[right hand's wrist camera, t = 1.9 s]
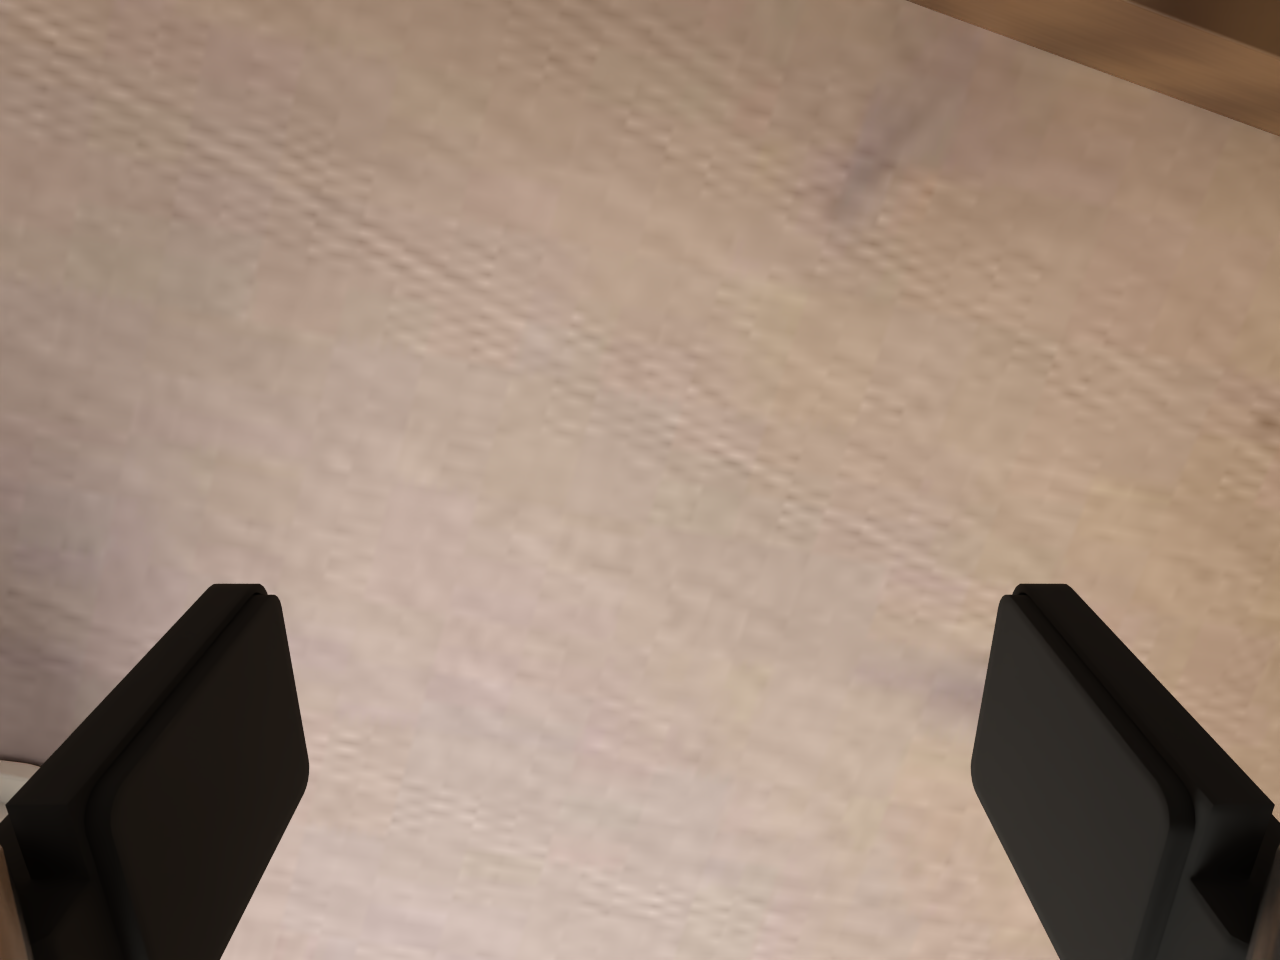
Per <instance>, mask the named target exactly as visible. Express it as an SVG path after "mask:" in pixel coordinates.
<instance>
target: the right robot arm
mask: <svg viewBox="0 0 1280 960" xmlns="http://www.w3.org/2000/svg"><path fill="white" fill-rule="evenodd" d="M308 776H309V760H308V754H307V748H306V743H305V737H304V731H303V726H302V720H301V714H300V709H299V703H298V697H297V692H296V686H295V680H294V675H293V669H292V663H291V658H290V652H289V646H288V641H287V635H286V629H285V624H284V618H283V612H282V607H281V603H280V600H279V598H278V597H277V596H276V595H268V594H267V592H266V590H265V588H264V587H263V586H262V585H261V584H213V585H212V586H210V587H209V588H208V589H207V590H206V591H205V592H204V593H203V594H202V595H201V596H200V598H199V599H198V600H197V601H196V602H195V603H194V604H193V605H192V606H191V607H190V608H189V609H188V610H187V611H186V612H185V614H184V615H183V616H182V617H181V618H180V619H179V620H178V621H177V622H176V623H175V624H174V625H173V626H172V627H171V628H170V630H169V631H168V632H167V633H166V634H165V635H164V636H163V637H162V638H161V639H160V640H159V641H158V642H157V643H156V644H155V646H154V647H153V648H152V649H151V650H150V651H149V652H148V653H147V654H146V655H145V656H144V657H143V658H142V659H141V660H140V662H139V663H138V664H137V665H136V666H135V667H134V668H133V669H132V670H131V671H130V672H129V673H128V674H127V675H126V676H125V678H124V679H123V680H122V681H121V682H120V683H119V684H118V685H117V686H116V687H115V688H114V689H113V690H112V691H111V692H110V694H109V695H108V696H107V697H106V698H105V699H104V700H103V701H102V702H101V703H100V704H99V705H98V706H97V707H96V708H95V710H94V711H93V712H92V713H91V714H90V715H89V716H88V717H87V718H86V719H85V720H84V721H83V722H82V723H81V724H80V726H79V727H78V728H77V729H76V730H75V731H74V732H73V733H72V734H71V735H70V736H69V737H68V738H67V739H66V740H65V742H64V743H63V744H62V745H61V746H60V747H59V748H58V749H57V750H56V751H55V752H54V753H53V754H52V755H51V756H50V758H49V759H48V760H47V761H46V762H45V763H44V764H43V765H42V766H41V767H39V766H35V765H31V764H27V763H20V762H12V761H4V760H0V960H220V958H221V956H222V954H223V953H224V951H225V949H226V947H227V945H228V943H229V941H230V939H231V937H232V935H233V933H234V931H235V929H236V927H237V925H238V923H239V921H240V919H241V917H242V915H243V913H244V911H245V909H246V907H247V905H248V903H249V901H250V899H251V897H252V895H253V893H254V891H255V889H256V887H257V885H258V883H259V881H260V879H261V877H262V875H263V873H264V871H265V869H266V867H267V865H268V863H269V861H270V859H271V857H272V855H273V853H274V851H275V850H276V848H277V846H278V844H279V842H280V840H281V838H282V836H283V834H284V832H285V830H286V828H287V826H288V824H289V822H290V820H291V818H292V816H293V814H294V812H295V810H296V808H297V806H298V804H299V802H300V800H301V798H302V796H303V794H304V792H305V789H306V786H307V782H308ZM971 776H972V782H973V786H974V789H975V792H976V794H977V796H978V798H979V800H980V802H981V804H982V806H983V808H984V810H985V812H986V814H987V816H988V818H989V820H990V822H991V824H992V826H993V828H994V830H995V832H996V834H997V836H998V838H999V840H1000V842H1001V844H1002V846H1003V848H1004V850H1005V852H1006V853H1007V855H1008V857H1009V859H1010V861H1011V863H1012V865H1013V867H1014V869H1015V871H1016V873H1017V875H1018V877H1019V879H1020V881H1021V883H1022V885H1023V887H1024V889H1025V891H1026V893H1027V895H1028V897H1029V899H1030V901H1031V903H1032V905H1033V907H1034V909H1035V911H1036V913H1037V915H1038V917H1039V919H1040V921H1041V923H1042V925H1043V927H1044V929H1045V931H1046V933H1047V935H1048V937H1049V939H1050V941H1051V943H1052V945H1053V947H1054V949H1055V951H1056V953H1057V954H1058V956H1059V958H1060V960H1280V822H1279V821H1278V820H1277V819H1276V818H1275V817H1274V816H1273V815H1272V812H1273V809H1274V806H1275V804H1274V803H1273V802H1272V801H1271V800H1270V799H1269V798H1268V797H1267V796H1266V795H1265V794H1264V793H1263V792H1262V791H1261V790H1260V788H1259V787H1258V786H1257V785H1256V784H1255V783H1254V782H1253V781H1252V780H1251V779H1250V778H1249V777H1248V776H1247V775H1246V774H1245V772H1244V771H1243V770H1242V769H1241V768H1240V767H1239V766H1238V765H1237V764H1236V763H1235V762H1234V761H1233V760H1232V759H1231V758H1230V756H1229V755H1228V754H1227V753H1226V752H1225V751H1224V750H1223V749H1222V748H1221V747H1220V746H1219V745H1218V744H1217V743H1216V742H1215V740H1214V739H1213V738H1212V737H1211V736H1210V735H1209V734H1208V733H1207V732H1206V731H1205V730H1204V729H1203V728H1202V727H1201V726H1200V724H1199V723H1198V722H1197V721H1196V720H1195V719H1194V718H1193V717H1192V716H1191V715H1190V714H1189V713H1188V712H1187V711H1186V710H1185V708H1184V707H1183V706H1182V705H1181V704H1180V703H1179V702H1178V701H1177V700H1176V699H1175V698H1174V697H1173V696H1172V695H1171V694H1170V692H1169V691H1168V690H1167V689H1166V688H1165V687H1164V686H1163V685H1162V684H1161V683H1160V682H1159V681H1158V680H1157V679H1156V678H1155V676H1154V675H1153V674H1152V673H1151V672H1150V671H1149V670H1148V669H1147V668H1146V667H1145V666H1144V665H1143V664H1142V663H1141V662H1140V660H1139V659H1138V658H1137V657H1136V656H1135V655H1134V654H1133V653H1132V652H1131V651H1130V650H1129V649H1128V648H1127V647H1126V646H1125V644H1124V643H1123V642H1122V641H1121V640H1120V639H1119V638H1118V637H1117V636H1116V635H1115V634H1114V633H1113V632H1112V631H1111V630H1110V628H1109V627H1108V626H1107V625H1106V624H1105V623H1104V622H1103V621H1102V620H1101V619H1100V618H1099V617H1098V616H1097V615H1096V614H1095V612H1094V611H1093V610H1092V609H1091V608H1090V607H1089V606H1088V605H1087V604H1086V603H1085V602H1084V601H1083V600H1082V599H1081V598H1080V596H1079V595H1078V594H1077V593H1076V592H1075V591H1074V590H1073V589H1072V588H1071V587H1070V586H1068V585H1067V584H1019V585H1018V586H1017V587H1016V588H1015V590H1014V592H1013V594H1012V595H1004V596H1003V597H1002V598H1001V600H1000V603H999V607H998V612H997V618H996V623H995V629H994V635H993V641H992V646H991V652H990V658H989V663H988V669H987V675H986V680H985V686H984V692H983V697H982V703H981V709H980V714H979V720H978V726H977V731H976V737H975V743H974V748H973V754H972V760H971Z"/></svg>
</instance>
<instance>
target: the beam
mask: <svg viewBox="0 0 1280 960" xmlns="http://www.w3.org/2000/svg"><path fill="white" fill-rule="evenodd" d="M907 1H910V2H913V3H915V4H918V5H921V6H924V7H926V8H929V9H932V10H935V11H937V12H940V13H943V14H946V15H948V16H951V17H954V18H957V19H959V20H962V21H965V22H968V23H970V24H973V25H976V26H979V27H981V28H984V29H987V30H990V31H992V32H995V33H998V34H1001V35H1003V36H1006V37H1009V38H1011V39H1014V40H1017V41H1020V42H1022V43H1025V44H1028V45H1031V46H1033V47H1036V48H1039V49H1042V50H1044V51H1047V52H1050V53H1053V54H1055V55H1058V56H1061V57H1064V58H1066V59H1069V60H1072V61H1075V62H1077V63H1080V64H1083V65H1086V66H1088V67H1091V68H1094V69H1097V70H1099V71H1102V72H1105V73H1108V74H1110V75H1113V76H1116V77H1119V78H1121V79H1124V80H1127V81H1130V82H1132V83H1135V84H1138V85H1141V86H1143V87H1146V88H1149V89H1152V90H1154V91H1157V92H1160V93H1163V94H1165V95H1168V96H1171V97H1174V98H1176V99H1179V100H1182V101H1184V102H1187V103H1190V104H1193V105H1195V106H1198V107H1201V108H1204V109H1206V110H1209V111H1212V112H1215V113H1217V114H1220V115H1223V116H1226V117H1228V118H1231V119H1234V120H1237V121H1239V122H1242V123H1245V124H1248V125H1250V126H1253V127H1256V128H1259V129H1261V130H1264V131H1267V132H1270V133H1272V134H1275V135H1278V136H1280V0H907Z"/></svg>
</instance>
